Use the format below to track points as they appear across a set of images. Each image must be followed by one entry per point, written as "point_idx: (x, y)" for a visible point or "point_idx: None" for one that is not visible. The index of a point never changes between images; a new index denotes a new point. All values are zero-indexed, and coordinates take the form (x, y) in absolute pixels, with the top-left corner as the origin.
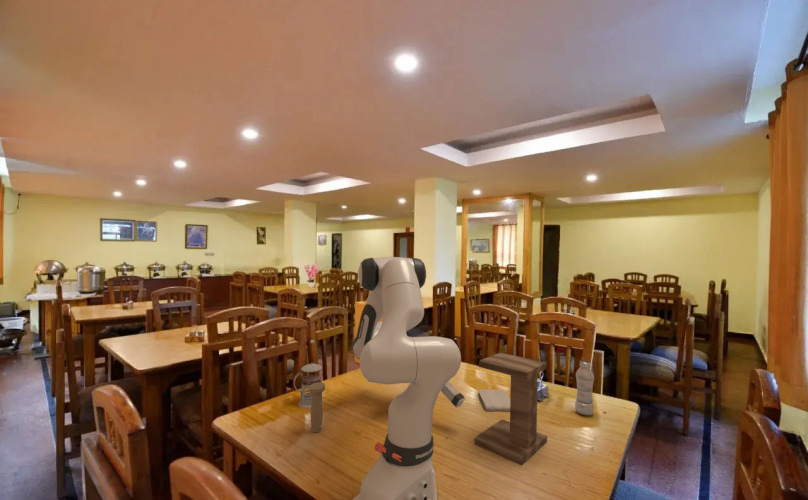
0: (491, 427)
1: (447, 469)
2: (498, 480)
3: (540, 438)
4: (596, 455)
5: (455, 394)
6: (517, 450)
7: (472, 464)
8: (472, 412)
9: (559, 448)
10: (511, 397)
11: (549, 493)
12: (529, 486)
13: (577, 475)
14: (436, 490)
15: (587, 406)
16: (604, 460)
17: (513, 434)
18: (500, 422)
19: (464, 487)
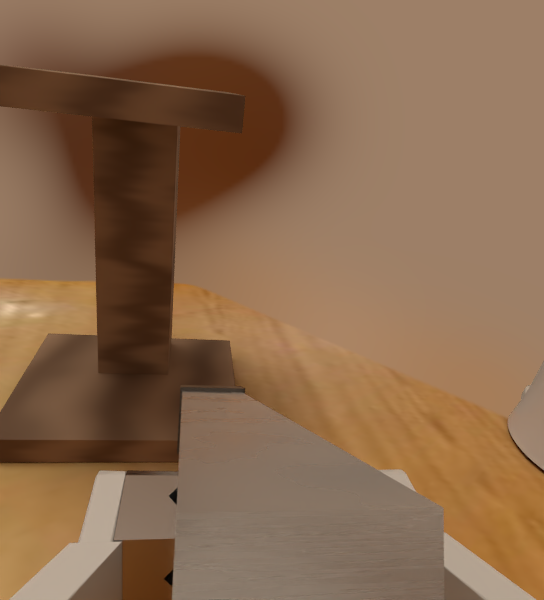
0: (107, 435)
1: (431, 446)
2: (331, 368)
3: (81, 338)
4: (54, 296)
5: (230, 391)
6: (202, 353)
7: (342, 418)
8: None
9: (70, 332)
10: (173, 225)
11: (275, 319)
12: (288, 336)
13: None
14: (512, 411)
15: None
16: (69, 289)
17: (169, 343)
18: (28, 431)
19: (427, 395)
